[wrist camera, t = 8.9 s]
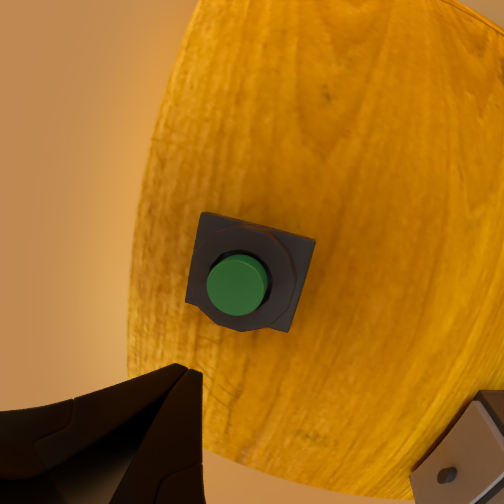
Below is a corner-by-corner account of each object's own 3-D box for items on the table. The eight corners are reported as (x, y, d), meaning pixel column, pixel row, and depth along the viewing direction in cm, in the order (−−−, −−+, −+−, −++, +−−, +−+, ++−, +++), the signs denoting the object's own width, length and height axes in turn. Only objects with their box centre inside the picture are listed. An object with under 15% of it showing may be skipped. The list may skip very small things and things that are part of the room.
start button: (260, 311, 16) (256, 323, 14) (210, 297, 16) (201, 306, 14) (273, 262, 15) (270, 269, 13) (220, 247, 15) (212, 253, 14)
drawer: (400, 476, 18) (412, 538, 9) (463, 400, 15) (502, 467, 7) (464, 468, 17) (482, 516, 8) (521, 398, 14) (555, 444, 6)
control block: (289, 327, 18) (286, 345, 15) (189, 297, 19) (174, 311, 16) (315, 239, 16) (317, 245, 14) (205, 211, 17) (190, 213, 15)
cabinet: (412, 473, 19) (428, 543, 8) (479, 390, 16) (527, 463, 6) (470, 464, 17) (491, 519, 7) (529, 389, 15) (570, 440, 4)
